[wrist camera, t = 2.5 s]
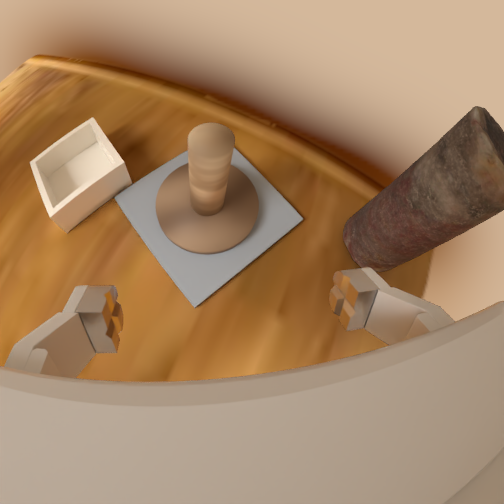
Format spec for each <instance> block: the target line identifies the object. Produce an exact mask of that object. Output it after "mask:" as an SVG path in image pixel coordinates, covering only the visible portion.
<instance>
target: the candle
mask: <svg viewBox="0 0 504 504" xmlns="http://www.w3.org/2000/svg"><path fill="white" fill-rule="evenodd" d="M503 210H504V132H503V130H502V128H501V127H500V126H499V124H498V123H497V122H496V121H495V120H494V118H493V117H492V116H490V114H489V113H488V112H487V110H486V109H485V108H481V107H478V106H475V107H474V108H473V109H472V110H471V111H470V112H468V113H467V114H466V115H465V116H464V117H463V118H462V119H461V120H460V121H459V122H458V123H457V124H456V125H455V126H454V127H453V128H451V130H449V131H448V132H447V133H446V134H445V135H444V136H443V137H442V138H441V139H440V140H439V141H438V142H437V143H436V144H435V145H433V146H432V147H431V148H430V149H429V150H428V151H427V152H426V153H425V154H424V155H422V156H421V157H420V158H419V159H418V160H417V161H416V162H414V163H413V164H412V165H411V166H410V167H409V168H408V169H407V170H406V171H405V172H403V173H402V174H401V175H400V176H399V177H398V178H397V179H395V180H394V181H393V182H392V183H391V184H390V185H389V186H387V187H386V188H385V189H384V190H383V191H381V192H380V193H379V194H378V195H377V196H375V197H374V198H373V199H372V200H371V201H369V202H368V203H367V204H366V205H365V206H364V207H362V208H361V209H360V210H359V211H358V212H356V213H355V214H354V215H353V216H352V217H351V218H350V219H349V220H348V221H347V222H346V224H345V227H344V231H343V240H344V243H345V244H346V246H347V249H348V251H349V253H350V255H351V257H352V259H353V260H354V261H355V262H356V263H357V264H358V265H359V266H360V267H362V268H364V267H370V268H372V269H373V270H374V271H375V272H383V271H387V270H390V269H392V268H394V267H396V266H398V265H400V264H402V263H405V262H407V261H409V260H411V259H413V258H416V257H417V256H420V255H421V254H423V253H425V252H427V251H429V250H431V249H433V248H435V247H437V246H439V245H441V244H443V243H445V242H447V241H449V240H451V239H453V238H454V237H456V236H458V235H460V234H462V233H464V232H466V231H467V230H469V229H471V228H473V227H475V226H476V225H478V224H480V223H482V222H484V221H486V220H487V219H489V218H491V217H493V216H494V215H496V214H498V213H499V212H501V211H503Z"/></svg>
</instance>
